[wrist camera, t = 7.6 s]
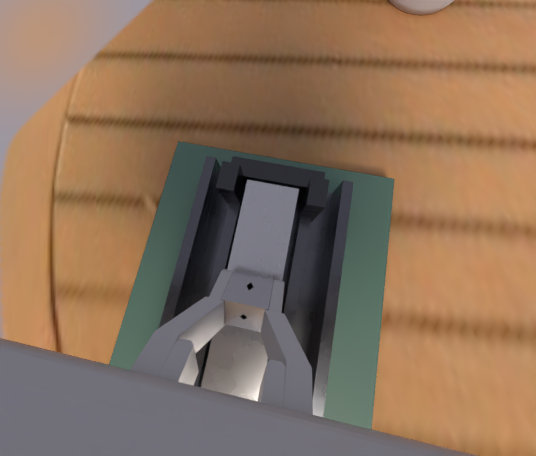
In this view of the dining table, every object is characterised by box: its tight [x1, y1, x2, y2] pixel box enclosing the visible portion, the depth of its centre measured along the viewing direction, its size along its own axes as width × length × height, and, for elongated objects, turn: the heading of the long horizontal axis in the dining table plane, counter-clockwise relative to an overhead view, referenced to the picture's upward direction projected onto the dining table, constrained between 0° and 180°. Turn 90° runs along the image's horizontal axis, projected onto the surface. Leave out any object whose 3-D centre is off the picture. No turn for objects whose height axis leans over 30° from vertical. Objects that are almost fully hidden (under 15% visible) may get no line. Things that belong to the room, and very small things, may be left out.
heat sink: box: [158, 156, 354, 417], centre depth 13 cm, size 20×12×6 cm, turn 168°
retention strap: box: [201, 180, 299, 401], centre depth 11 cm, size 17×3×1 cm, turn 168°
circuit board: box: [109, 141, 394, 429], centre depth 16 cm, size 26×20×1 cm
